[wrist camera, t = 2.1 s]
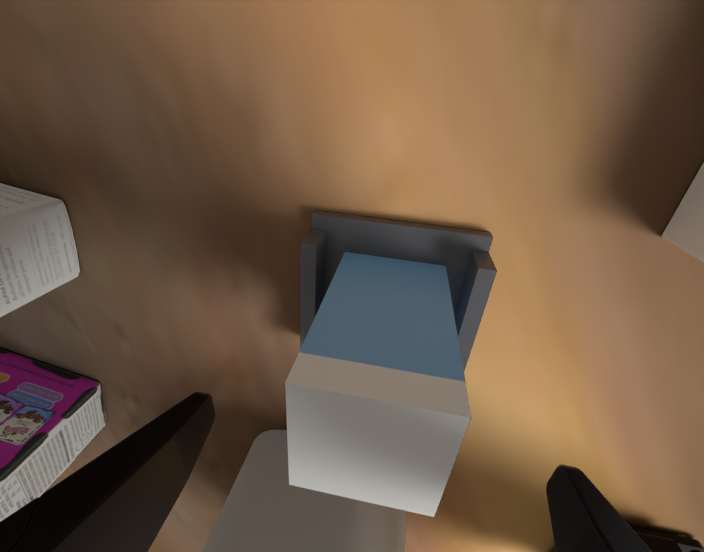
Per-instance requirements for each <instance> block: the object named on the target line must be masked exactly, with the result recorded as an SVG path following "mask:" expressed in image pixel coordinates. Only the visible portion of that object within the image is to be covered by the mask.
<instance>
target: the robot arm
mask: <svg viewBox="0 0 704 552" xmlns="http://www.w3.org/2000/svg"><path fill="white" fill-rule="evenodd" d="M214 419H215V411H214V406H213V401H212V396H211V395H210V394H206V393H201V392H195V393H193V394H191V395H190V396H188V397H187V398H185V399H184V400H182V401H181V402H179V403H178V404H176V405H175V406H173V407H172V408H170V409H169V410H167V411H166V412H164V413H163V414H161V415H160V416H158V417H157V418H155V419H154V420H152V421H151V422H149V423H148V424H146V425H145V426H143V427H142V428H140V429H139V430H137V431H136V432H134V433H133V434H131V435H130V436H128V437H127V438H125V439H124V440H122V441H121V442H119V443H118V444H116V445H115V446H113V447H112V448H110V449H109V450H107V451H106V452H104V453H103V454H101V455H100V456H98V457H97V458H95V459H94V460H92V461H91V462H89V463H88V464H86V465H85V466H83V467H82V468H80V469H79V470H77V471H76V472H74V473H73V474H71V475H70V476H68V477H67V478H65V479H64V480H62V481H61V482H59V483H58V484H56V485H55V486H53V487H52V488H50V489H49V490H47V491H46V492H44V493H43V494H42V495H41V496H40V497H37V498H35V499H34V500H32V501H31V502H29V503H28V504H26V505H25V506H23V507H22V508H20V509H19V510H17V511H16V512H14V513H13V514H11V515H10V516H8V517H6V518H5V519H3V520H2V521H0V552H148V550H149V548H150V547H151V545H152V543H153V541H154V539H155V538H156V536H157V534H158V532H159V531H160V529H161V527H162V525H163V523H164V522H165V520H166V518H167V516H168V515H169V513H170V511H171V509H172V507H173V506H174V504H175V502H176V500H177V499H178V497H179V495H180V493H181V491H182V490H183V488H184V486H185V484H186V482H187V480H188V478H189V476H190V474H191V472H192V470H193V468H194V465H195V463H196V461H197V459H198V456H199V454H200V452H201V450H202V447H203V445H204V443H205V441H206V438H207V436H208V434H209V432H210V429H211V427H212V425H213V422H214ZM546 493H547V499H548V505H549V511H550V517H551V523H552V529H553V535H554V541H555V548H554V549H553V550H552V552H704V548H703V546H702V545H701V543H700V542H699V541H697V540H694V539H690V538H685V537H680V536H676V535H671V534H666V533H662V532H657V531H652V530H647V529H643V528H638V527H633V526H629V524H628V523H627V522H626V521H625V520H624V519H623V518H622V516H621V515H620V514H619V513H618V512H617V511H616V510H615V508H614V507H613V506H612V505H611V504H610V503H609V502H608V500H607V499H606V498H605V497H604V496H603V495H602V494H601V492H600V491H599V490H598V489H597V488H596V487H595V486H594V484H593V483H592V482H591V481H590V480H589V479H588V478H587V476H586V475H585V474H584V473H583V472H582V471H581V470H580V469H578V468H576V467H571V466H566V465H559V466H558V467H557V468H556V470H555V471H554V473H553V474H552V476H551V478H550V479H549V481H548V483H547V487H546Z"/></svg>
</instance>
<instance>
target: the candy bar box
mask: <svg viewBox="0 0 704 552" xmlns="http://www.w3.org/2000/svg"><path fill="white" fill-rule="evenodd" d="M105 425H106V412H105V408H104V403H103V397H102V390H101V384H100V383H98V382H97V381H95V380H92V379H89V378H86V377H83V376H80V375H77V374H74V373H71V372H69V371H66V370H63V369H60V368H57V367H53V366H51V365H48V364H45V363H42V362H39V361H36V360H33V359H30V358H27V357H24V356H21V355H18V354H15V353H12V352H9V351H6V350H3V349H0V521H2V520H3V519H5V518H6V517H8V516H10V515H11V514H13V513H14V512H16V511H17V510H19V509H20V508H22V507H23V506H25V505H26V504H28V503H29V502H31V501H32V500H34V499H35V498H37V497H40V496H41V495H42V494H43V493H44V492H46V491H47V490H48V488H49V487H50V486H51V485H52V484H53V483H54V482H55V481H56V480H57V479H58V478H59V476H60V475H61V474H62V473H63V472H64V471H65V470H66V469H67V468H68V467H69V465H70V464H71V463H72V462H73V461H74V460H75V459H76V458H77V456H78V455H79V454H80V453H81V452H82V451H83V450H84V449H85V448H86V447H87V446H88V445H89V443H90V442H91V441H92V440H93V439H94V438H95V437H96V436H97V435H98V434H99V432H100V431H101V430H102V429H103V428H104V427H105Z"/></svg>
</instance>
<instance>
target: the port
mask: <svg viewBox="0 0 704 552" xmlns="http://www.w3.org/2000/svg"><path fill="white" fill-rule="evenodd" d="M661 238H663V239H665V240H666V241H668V242H670V243H672V244H673V245H675V246H677V247H678V248H680V249H682V250H684V251H685V252H687V253H689V254H690V255H692V256H694V257H695V258H697V259H699V260H701V261H702V262H704V162H703V164H702V166H701V168H700V169H699V171H698V173H697V175H696V176H695V178H694V180H693V182H692V183H691V185H690V187H689V189H688V190H687V192H686V194H685V196H684V197H683V199H682V201H681V203H680V204H679V206H678V208H677V210H676V211H675V213H674V215H673V217H672V218H671V220H670V222H669V224H668V225H667V227H666V229H665V231H664V232H663V234H662V236H661Z"/></svg>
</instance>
